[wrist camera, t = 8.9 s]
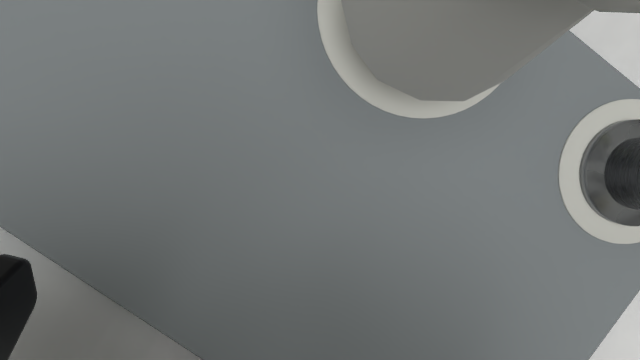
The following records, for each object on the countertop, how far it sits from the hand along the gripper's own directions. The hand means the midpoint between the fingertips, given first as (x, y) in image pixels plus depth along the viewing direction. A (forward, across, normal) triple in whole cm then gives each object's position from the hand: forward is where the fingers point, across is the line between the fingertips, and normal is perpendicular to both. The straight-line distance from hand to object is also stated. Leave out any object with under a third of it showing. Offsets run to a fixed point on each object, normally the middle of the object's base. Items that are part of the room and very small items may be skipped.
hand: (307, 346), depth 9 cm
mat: (+11, +2, +4) cm, 11 cm away
